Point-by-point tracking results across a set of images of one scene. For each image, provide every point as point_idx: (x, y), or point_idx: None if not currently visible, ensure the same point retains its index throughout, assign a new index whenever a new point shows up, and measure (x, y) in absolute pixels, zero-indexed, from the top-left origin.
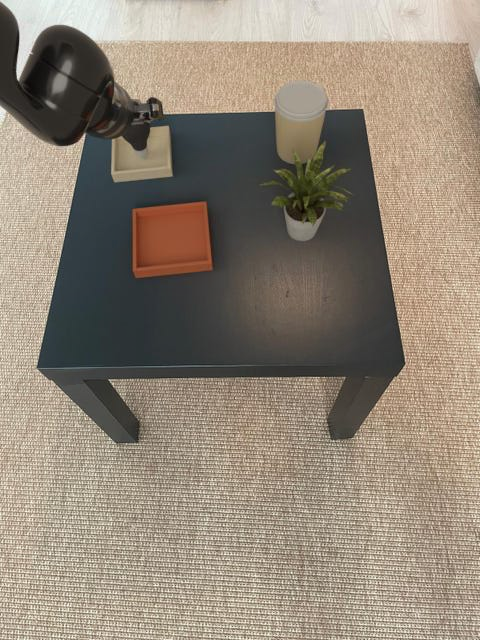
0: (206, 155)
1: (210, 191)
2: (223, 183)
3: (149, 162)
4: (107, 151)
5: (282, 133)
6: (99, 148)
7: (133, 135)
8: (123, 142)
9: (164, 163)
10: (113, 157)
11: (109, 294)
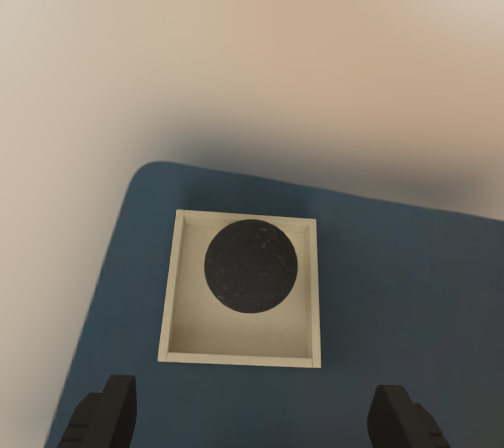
0: (393, 309)
1: None
2: (439, 415)
3: (258, 313)
4: (156, 250)
5: None
6: (138, 237)
7: (249, 310)
8: (199, 234)
9: (295, 323)
10: (170, 299)
11: None
